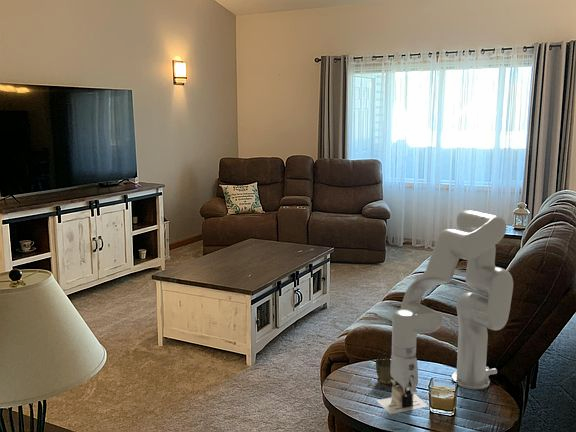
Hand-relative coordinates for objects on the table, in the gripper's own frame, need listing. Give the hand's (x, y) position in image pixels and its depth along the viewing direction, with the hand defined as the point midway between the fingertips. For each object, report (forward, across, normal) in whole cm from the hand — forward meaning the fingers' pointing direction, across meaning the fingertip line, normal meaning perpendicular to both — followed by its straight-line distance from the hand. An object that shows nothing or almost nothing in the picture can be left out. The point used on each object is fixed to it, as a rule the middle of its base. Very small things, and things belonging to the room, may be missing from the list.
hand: (402, 401), depth 185 cm
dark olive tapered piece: (+1, +14, -2) cm, 15 cm away
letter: (+1, 0, 0) cm, 1 cm away
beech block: (+1, 0, 0) cm, 1 cm away
